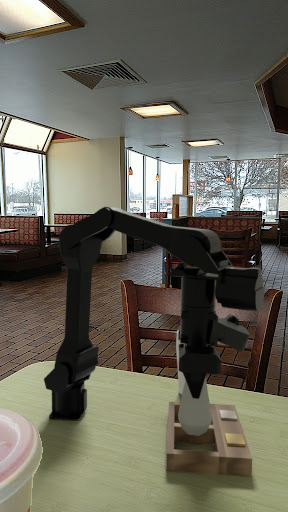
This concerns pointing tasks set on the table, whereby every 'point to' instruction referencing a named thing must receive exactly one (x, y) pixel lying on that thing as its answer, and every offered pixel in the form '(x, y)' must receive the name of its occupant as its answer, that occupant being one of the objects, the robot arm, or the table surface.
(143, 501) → the table surface
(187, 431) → the salt shaker
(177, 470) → the socket block
